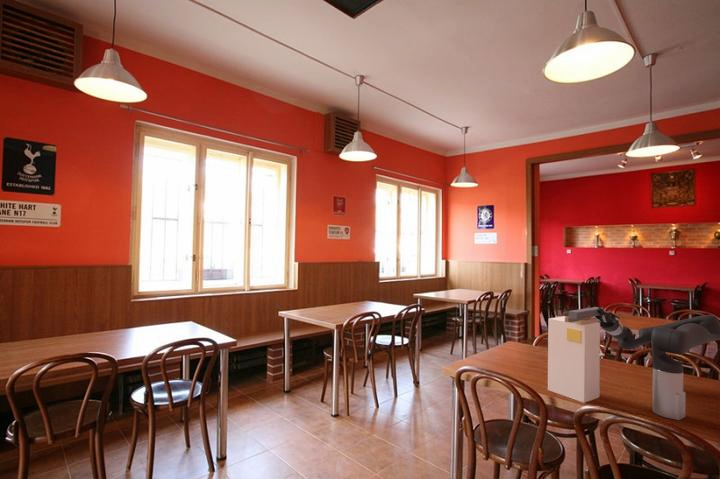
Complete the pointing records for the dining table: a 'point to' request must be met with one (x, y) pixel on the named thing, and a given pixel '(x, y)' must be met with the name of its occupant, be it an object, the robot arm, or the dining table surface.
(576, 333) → the cream carton
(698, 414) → the dining table surface
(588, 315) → the dark gray bar
